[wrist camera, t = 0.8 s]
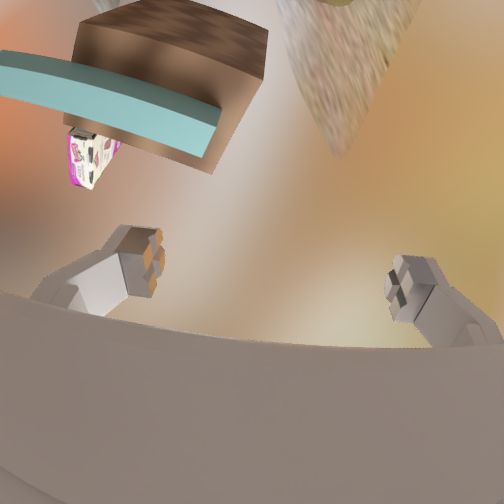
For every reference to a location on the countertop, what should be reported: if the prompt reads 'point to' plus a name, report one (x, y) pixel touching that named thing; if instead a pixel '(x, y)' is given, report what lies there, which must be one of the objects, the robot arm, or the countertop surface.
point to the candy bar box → (88, 156)
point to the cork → (336, 2)
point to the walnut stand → (176, 64)
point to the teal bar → (109, 99)
